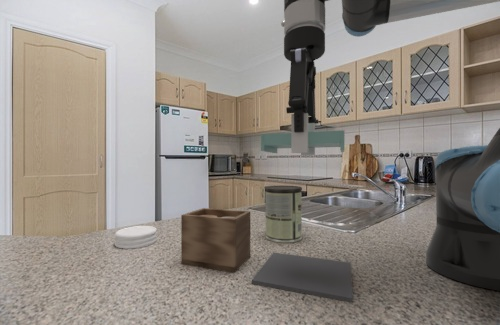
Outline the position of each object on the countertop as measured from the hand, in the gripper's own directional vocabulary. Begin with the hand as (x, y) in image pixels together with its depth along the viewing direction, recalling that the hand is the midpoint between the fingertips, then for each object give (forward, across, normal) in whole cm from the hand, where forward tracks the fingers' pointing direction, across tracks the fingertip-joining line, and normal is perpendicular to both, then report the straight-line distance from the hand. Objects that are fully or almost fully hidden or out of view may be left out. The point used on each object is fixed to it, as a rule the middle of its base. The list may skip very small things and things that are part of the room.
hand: (304, 153), depth 46 cm
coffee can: (+23, -21, -9) cm, 32 cm away
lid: (-1, 0, 0) cm, 1 cm away
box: (+22, 0, -18) cm, 29 cm away
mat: (+22, 0, 0) cm, 22 cm away
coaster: (+23, -3, -44) cm, 50 cm away
